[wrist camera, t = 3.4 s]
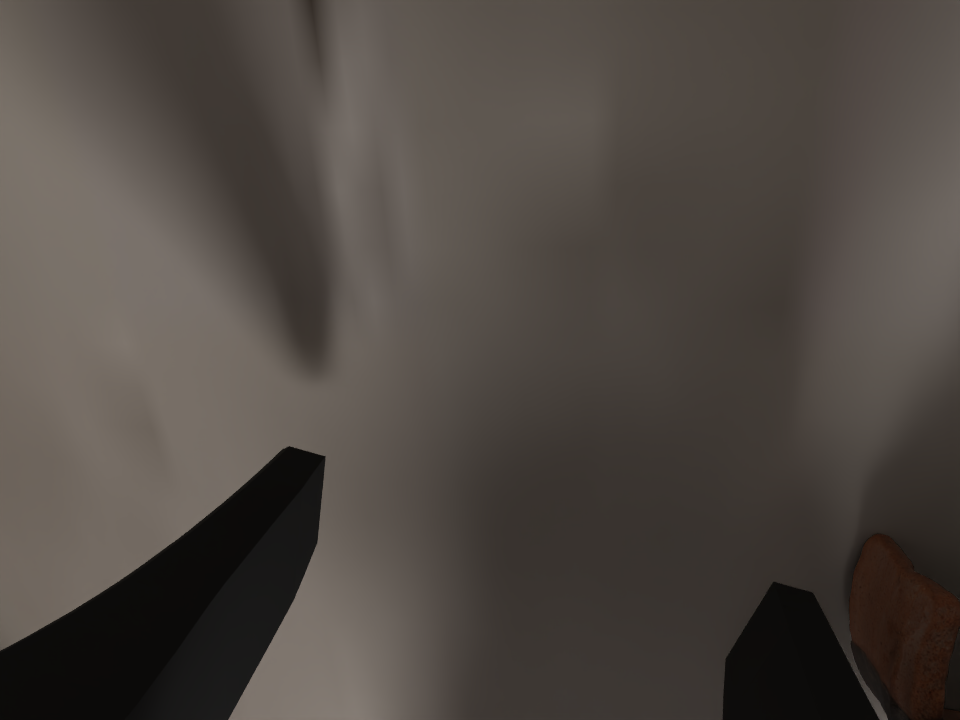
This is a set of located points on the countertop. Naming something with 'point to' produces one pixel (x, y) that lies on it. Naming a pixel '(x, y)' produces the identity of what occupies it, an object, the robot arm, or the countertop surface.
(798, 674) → the robot arm
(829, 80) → the countertop surface
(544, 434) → the countertop surface
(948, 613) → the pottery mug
